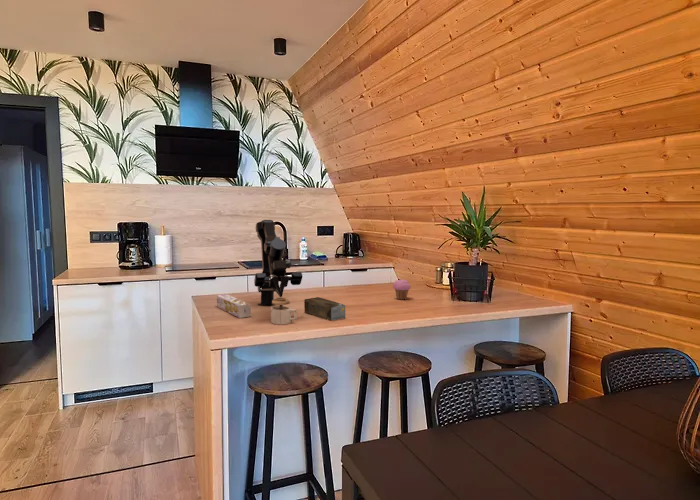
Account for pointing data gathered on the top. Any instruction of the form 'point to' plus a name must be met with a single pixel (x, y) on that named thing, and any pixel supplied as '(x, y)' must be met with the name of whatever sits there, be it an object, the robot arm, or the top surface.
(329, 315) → the beverage carton
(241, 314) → the box
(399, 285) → the cupcake
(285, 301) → the plunger
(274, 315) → the press pot
